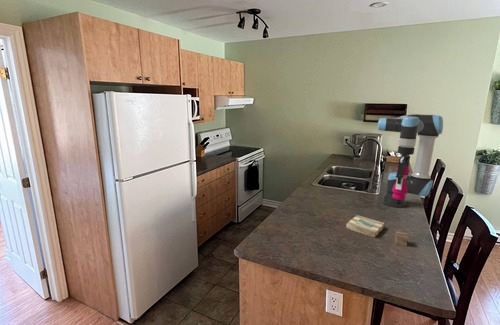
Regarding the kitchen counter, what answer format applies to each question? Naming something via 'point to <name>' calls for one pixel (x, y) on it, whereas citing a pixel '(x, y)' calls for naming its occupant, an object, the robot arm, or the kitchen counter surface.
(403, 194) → the pepper mill
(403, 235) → the block
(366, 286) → the kitchen counter surface
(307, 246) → the kitchen counter surface
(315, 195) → the kitchen counter surface
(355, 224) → the base plate
